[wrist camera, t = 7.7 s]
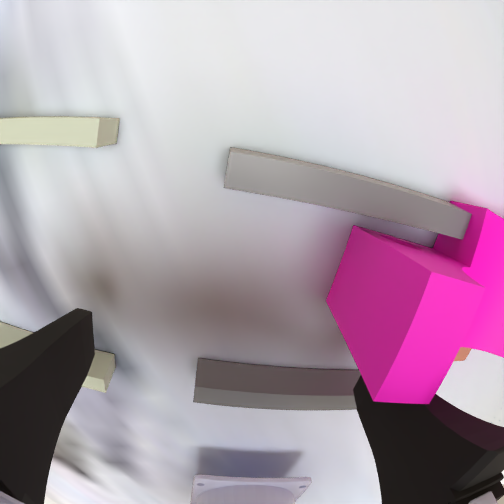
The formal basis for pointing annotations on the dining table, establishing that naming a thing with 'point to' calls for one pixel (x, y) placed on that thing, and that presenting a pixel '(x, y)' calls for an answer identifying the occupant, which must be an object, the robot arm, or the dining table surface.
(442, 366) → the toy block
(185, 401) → the dining table surface
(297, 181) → the channel
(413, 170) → the dining table surface
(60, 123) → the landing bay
